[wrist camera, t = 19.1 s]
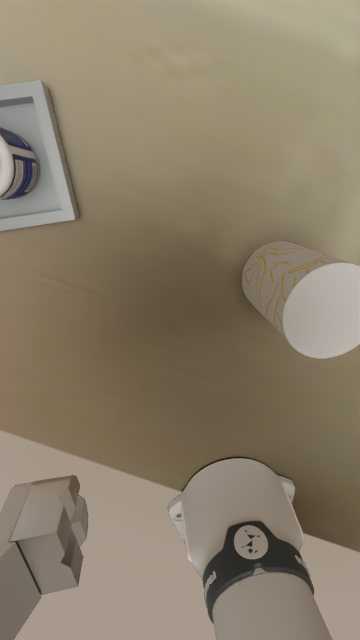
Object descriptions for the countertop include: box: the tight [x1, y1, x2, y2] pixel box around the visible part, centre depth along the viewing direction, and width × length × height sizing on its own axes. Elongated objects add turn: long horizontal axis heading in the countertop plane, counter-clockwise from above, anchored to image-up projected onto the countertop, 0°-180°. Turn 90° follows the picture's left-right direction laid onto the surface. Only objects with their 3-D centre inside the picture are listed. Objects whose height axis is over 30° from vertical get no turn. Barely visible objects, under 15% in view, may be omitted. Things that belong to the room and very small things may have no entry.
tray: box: [0, 80, 80, 231], centre depth 30 cm, size 11×11×2 cm
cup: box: [242, 241, 360, 358], centre depth 32 cm, size 8×8×12 cm
